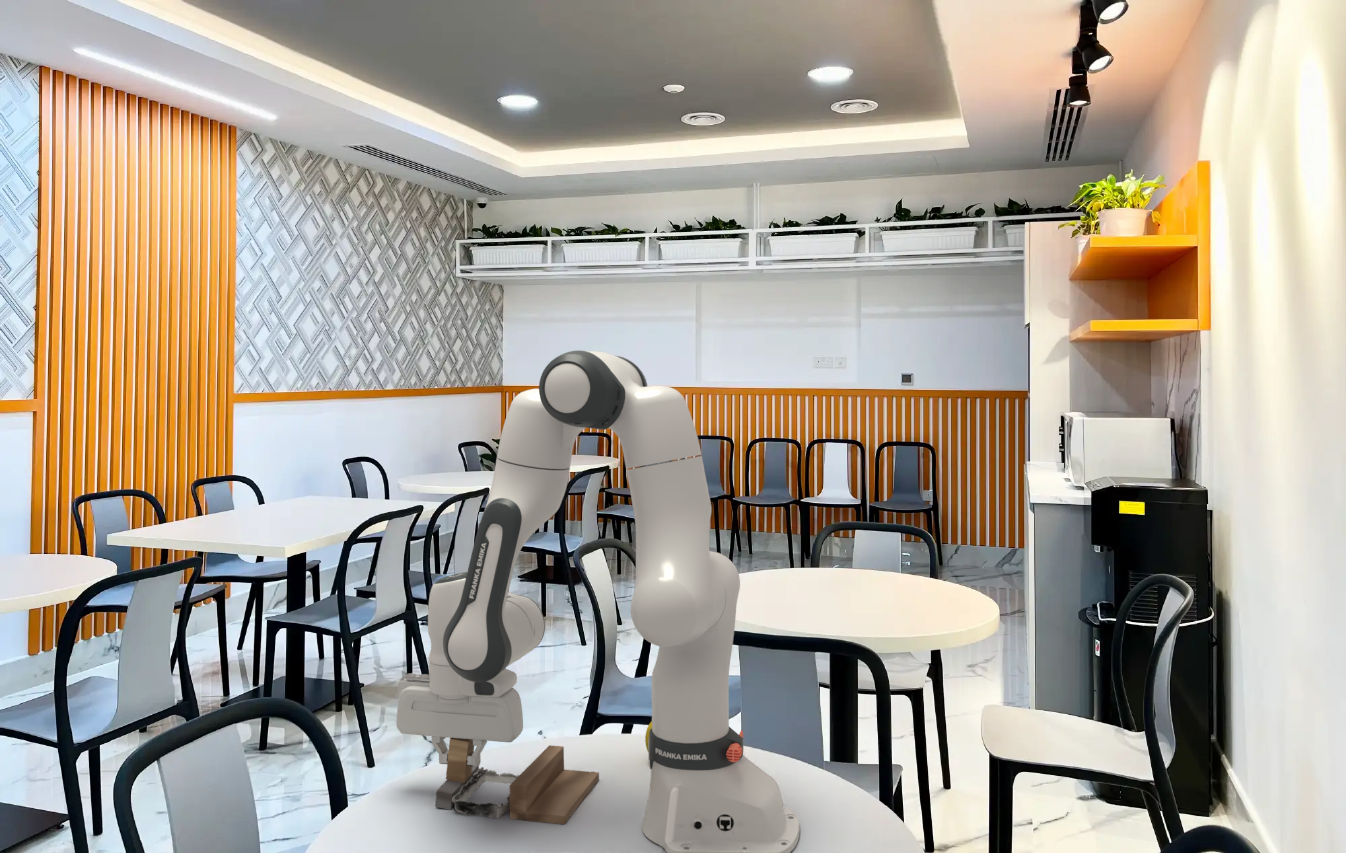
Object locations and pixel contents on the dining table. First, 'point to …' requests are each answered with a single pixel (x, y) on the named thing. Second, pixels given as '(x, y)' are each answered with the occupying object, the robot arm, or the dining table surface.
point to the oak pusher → (456, 772)
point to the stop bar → (549, 789)
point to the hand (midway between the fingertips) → (459, 764)
